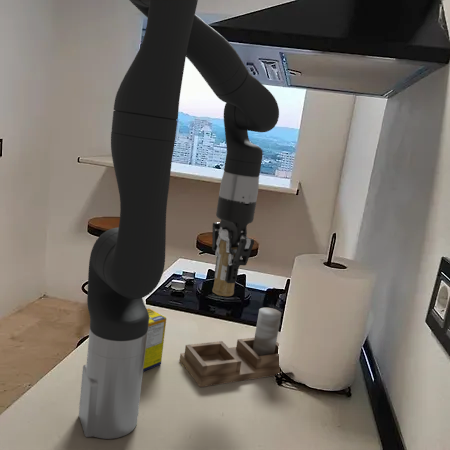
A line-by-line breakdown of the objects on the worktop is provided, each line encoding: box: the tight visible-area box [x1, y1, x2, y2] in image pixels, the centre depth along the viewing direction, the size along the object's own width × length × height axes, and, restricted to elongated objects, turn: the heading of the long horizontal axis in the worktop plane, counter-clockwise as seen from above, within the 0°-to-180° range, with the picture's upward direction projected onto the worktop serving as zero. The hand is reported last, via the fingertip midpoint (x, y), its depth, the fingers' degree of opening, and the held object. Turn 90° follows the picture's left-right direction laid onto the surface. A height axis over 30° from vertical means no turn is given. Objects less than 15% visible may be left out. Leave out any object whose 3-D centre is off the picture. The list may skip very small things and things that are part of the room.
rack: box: [179, 307, 282, 388], centre depth 101 cm, size 23×11×12 cm, turn 118°
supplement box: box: [143, 308, 167, 373], centre depth 97 cm, size 6×6×11 cm
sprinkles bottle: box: [212, 229, 238, 297], centre depth 94 cm, size 5×5×14 cm
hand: (225, 277), depth 95 cm, fingers closed on sprinkles bottle, 4 cm apart
